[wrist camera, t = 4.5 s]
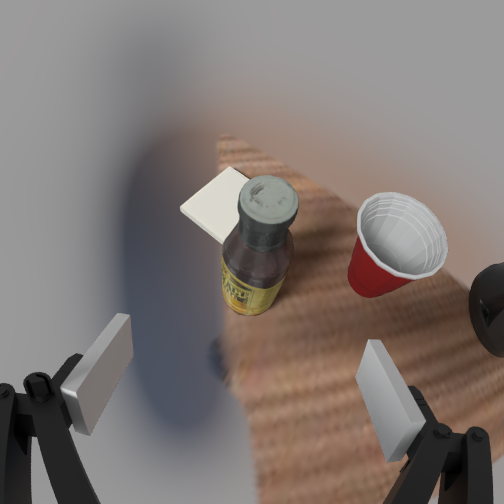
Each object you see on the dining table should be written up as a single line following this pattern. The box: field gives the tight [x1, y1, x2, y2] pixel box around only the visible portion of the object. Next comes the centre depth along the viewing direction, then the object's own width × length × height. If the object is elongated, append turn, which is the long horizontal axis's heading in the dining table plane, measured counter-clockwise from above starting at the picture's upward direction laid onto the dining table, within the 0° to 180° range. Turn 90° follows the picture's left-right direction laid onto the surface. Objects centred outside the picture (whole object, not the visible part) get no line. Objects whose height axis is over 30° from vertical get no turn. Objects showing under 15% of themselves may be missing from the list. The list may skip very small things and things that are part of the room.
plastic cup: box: [348, 192, 448, 298], centre depth 35 cm, size 11×11×12 cm
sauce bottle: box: [222, 175, 299, 316], centre depth 30 cm, size 6×6×20 cm
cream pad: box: [180, 166, 249, 245], centre depth 44 cm, size 10×10×1 cm
